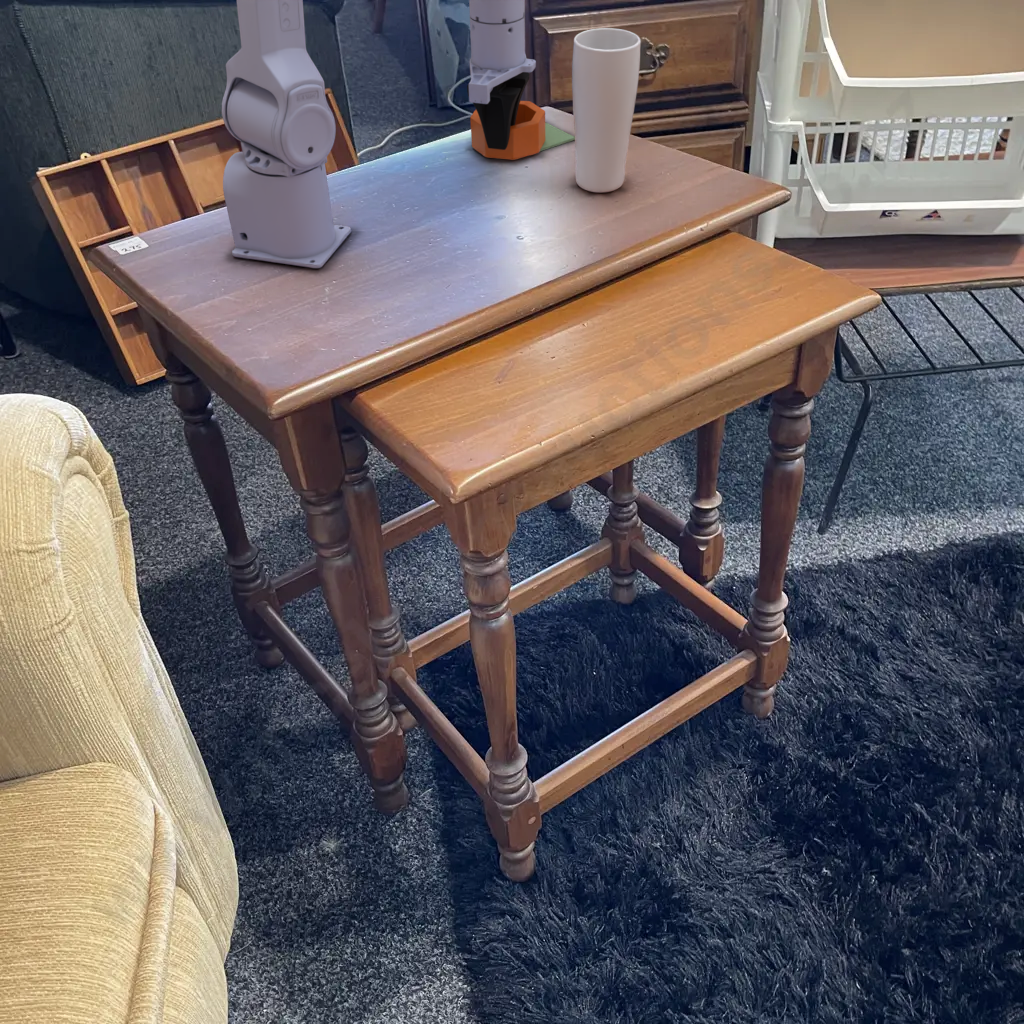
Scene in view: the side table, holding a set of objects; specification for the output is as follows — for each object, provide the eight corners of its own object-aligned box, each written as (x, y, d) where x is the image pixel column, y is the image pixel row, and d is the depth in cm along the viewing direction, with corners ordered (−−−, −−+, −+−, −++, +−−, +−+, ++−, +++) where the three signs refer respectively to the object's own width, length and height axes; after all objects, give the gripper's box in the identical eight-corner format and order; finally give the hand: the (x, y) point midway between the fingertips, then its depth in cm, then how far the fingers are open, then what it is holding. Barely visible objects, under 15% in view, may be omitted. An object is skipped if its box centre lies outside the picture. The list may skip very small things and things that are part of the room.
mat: (521, 157, 113) (521, 155, 112) (480, 135, 117) (480, 132, 117) (575, 139, 116) (575, 137, 116) (533, 118, 121) (533, 116, 120)
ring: (466, 155, 113) (464, 125, 110) (484, 127, 118) (483, 97, 116) (534, 162, 111) (533, 131, 109) (550, 132, 116) (549, 102, 114)
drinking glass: (633, 197, 105) (644, 50, 95) (569, 198, 105) (574, 51, 95) (628, 169, 110) (638, 26, 100) (567, 170, 110) (571, 27, 100)
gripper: (515, 42, 96) (516, 175, 105) (552, -3, 106) (550, 123, 115) (446, 36, 97) (453, 168, 107) (489, -8, 108) (492, 117, 117)
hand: (499, 144), depth 111 cm, fingers closed on ring
